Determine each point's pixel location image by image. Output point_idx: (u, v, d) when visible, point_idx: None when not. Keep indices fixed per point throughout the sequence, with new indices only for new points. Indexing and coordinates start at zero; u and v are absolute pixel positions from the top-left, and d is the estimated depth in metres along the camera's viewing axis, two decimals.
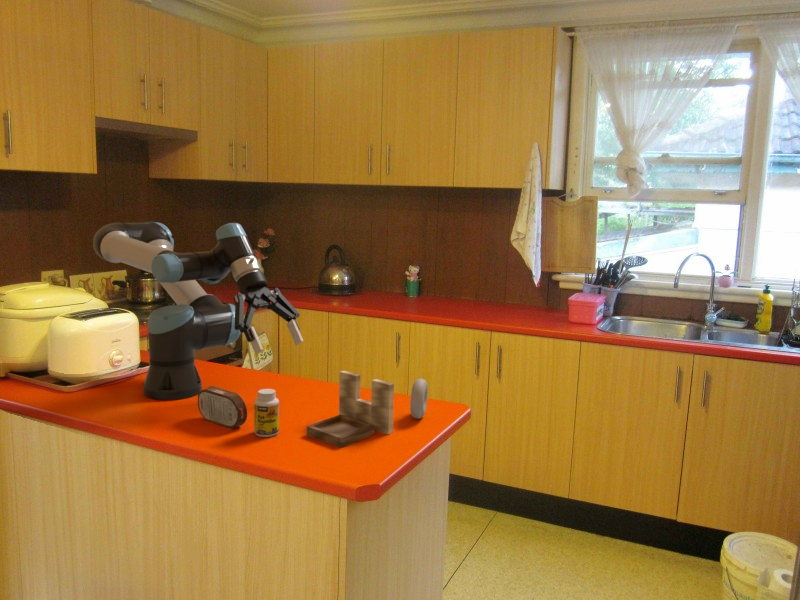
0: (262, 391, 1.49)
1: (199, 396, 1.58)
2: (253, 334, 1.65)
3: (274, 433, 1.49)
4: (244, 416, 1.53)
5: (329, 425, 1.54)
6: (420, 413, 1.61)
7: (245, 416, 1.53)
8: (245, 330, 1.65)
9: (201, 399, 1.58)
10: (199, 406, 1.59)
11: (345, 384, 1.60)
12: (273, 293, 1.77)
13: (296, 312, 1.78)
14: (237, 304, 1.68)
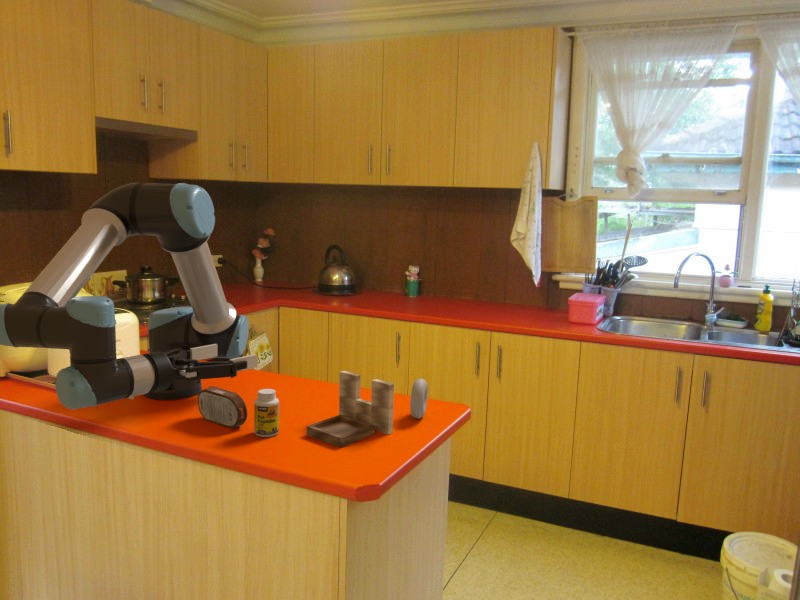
0: (262, 391, 1.49)
1: (199, 396, 1.58)
2: None
3: (274, 433, 1.49)
4: (244, 416, 1.53)
5: (329, 425, 1.54)
6: (420, 413, 1.61)
7: (245, 416, 1.53)
8: None
9: (201, 399, 1.58)
10: (199, 406, 1.59)
11: (345, 384, 1.60)
12: None
13: None
14: None
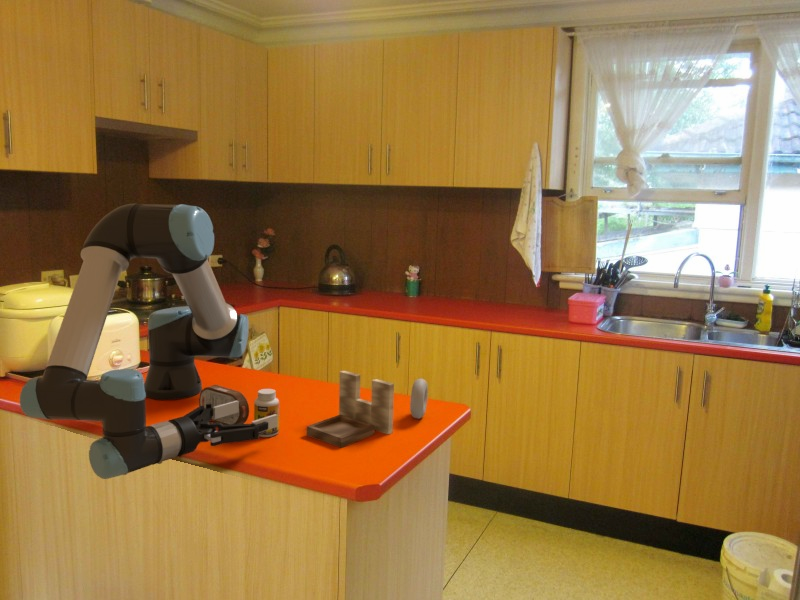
0: (262, 391, 1.49)
1: (201, 393, 1.59)
2: None
3: (274, 433, 1.49)
4: (246, 415, 1.53)
5: (329, 425, 1.54)
6: (420, 413, 1.61)
7: (246, 415, 1.53)
8: None
9: (203, 397, 1.59)
10: (200, 404, 1.59)
11: (345, 384, 1.60)
12: None
13: None
14: None
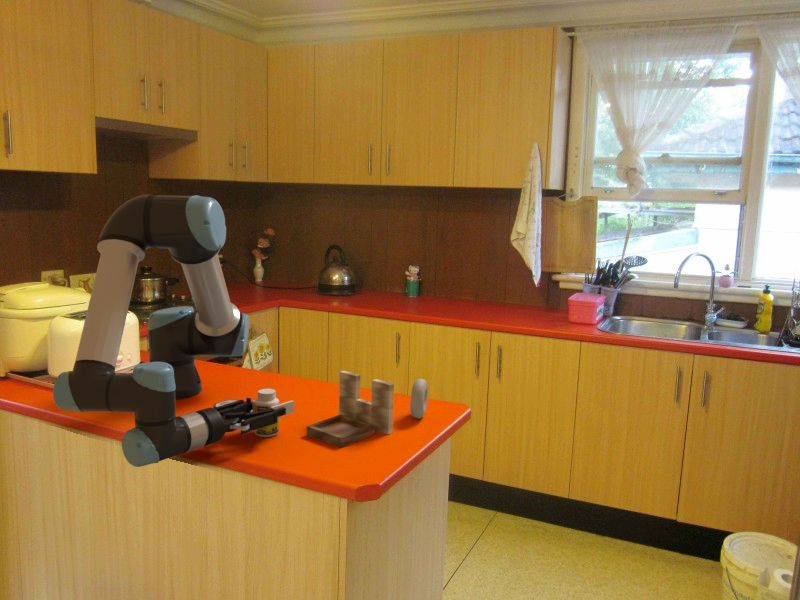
0: (262, 391, 1.49)
1: (228, 400, 1.66)
2: None
3: (274, 433, 1.49)
4: None
5: (329, 425, 1.54)
6: (420, 413, 1.61)
7: None
8: None
9: (227, 401, 1.66)
10: (218, 403, 1.64)
11: (345, 384, 1.60)
12: None
13: None
14: None
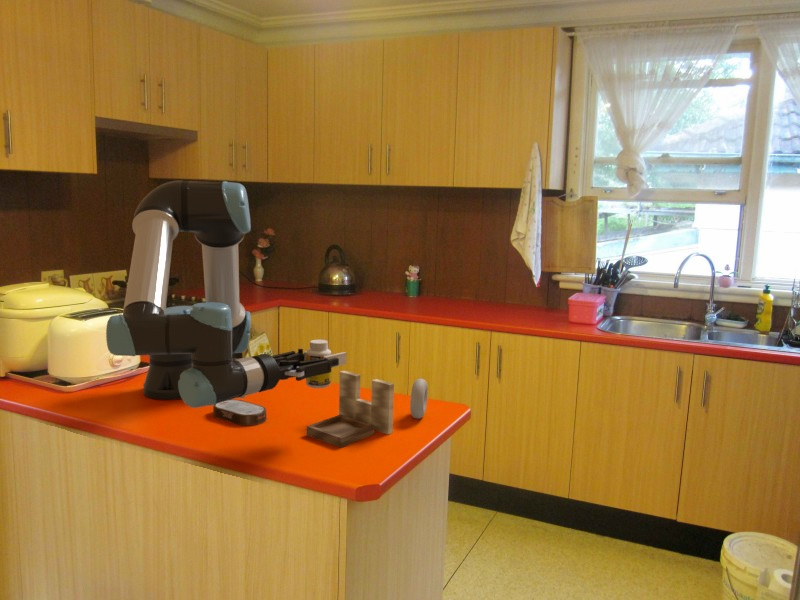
0: (314, 341, 1.46)
1: (228, 400, 1.66)
2: None
3: (326, 384, 1.46)
4: (258, 420, 1.57)
5: (329, 425, 1.54)
6: (420, 413, 1.61)
7: (258, 421, 1.57)
8: None
9: (227, 401, 1.66)
10: (218, 403, 1.64)
11: (345, 384, 1.60)
12: None
13: None
14: None
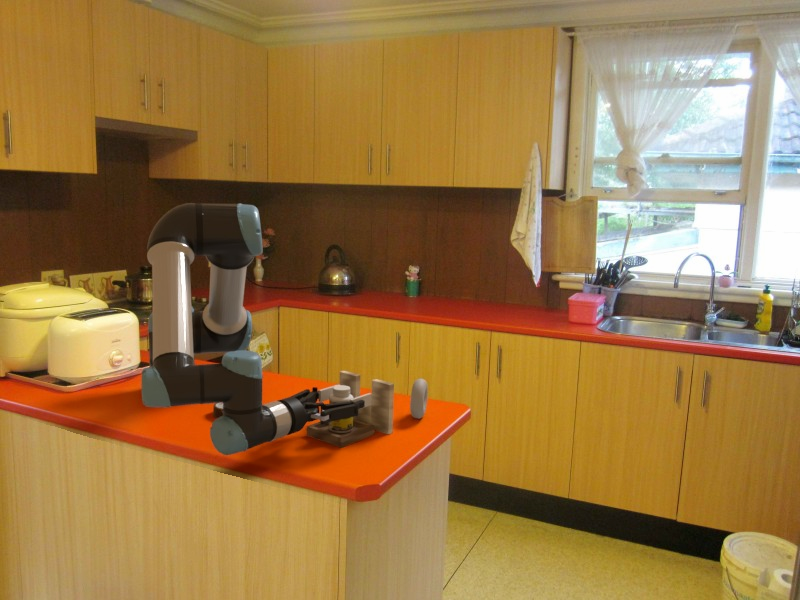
0: (337, 387, 1.49)
1: None
2: None
3: (349, 429, 1.50)
4: None
5: None
6: (420, 413, 1.61)
7: None
8: None
9: None
10: (218, 403, 1.64)
11: (345, 384, 1.60)
12: None
13: None
14: None
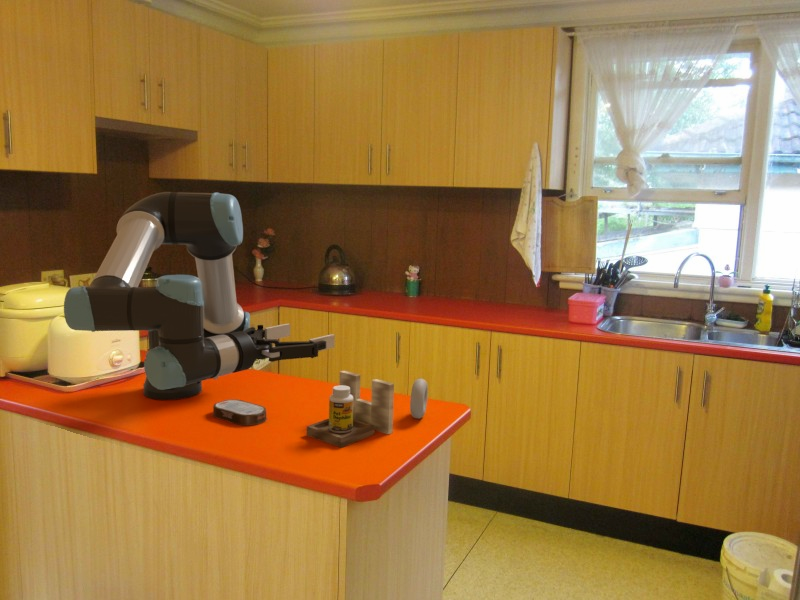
0: (337, 387, 1.49)
1: (228, 400, 1.66)
2: None
3: (349, 429, 1.50)
4: (258, 420, 1.57)
5: None
6: (420, 413, 1.61)
7: (258, 421, 1.57)
8: None
9: (227, 401, 1.66)
10: (218, 403, 1.64)
11: (345, 384, 1.60)
12: None
13: None
14: None
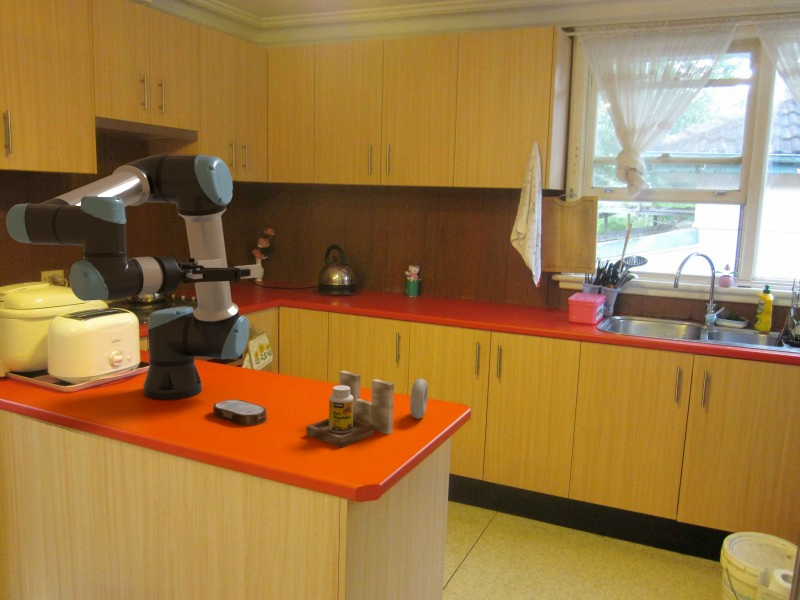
0: (337, 387, 1.49)
1: (228, 400, 1.66)
2: None
3: (349, 429, 1.50)
4: (258, 420, 1.57)
5: None
6: (420, 413, 1.61)
7: (258, 421, 1.57)
8: None
9: (227, 401, 1.66)
10: (218, 403, 1.64)
11: (345, 384, 1.60)
12: None
13: (234, 280, 1.36)
14: None
